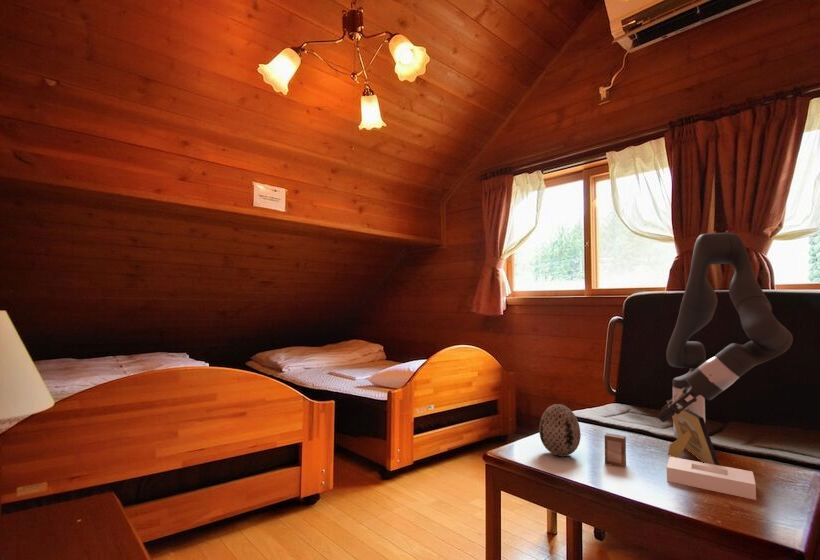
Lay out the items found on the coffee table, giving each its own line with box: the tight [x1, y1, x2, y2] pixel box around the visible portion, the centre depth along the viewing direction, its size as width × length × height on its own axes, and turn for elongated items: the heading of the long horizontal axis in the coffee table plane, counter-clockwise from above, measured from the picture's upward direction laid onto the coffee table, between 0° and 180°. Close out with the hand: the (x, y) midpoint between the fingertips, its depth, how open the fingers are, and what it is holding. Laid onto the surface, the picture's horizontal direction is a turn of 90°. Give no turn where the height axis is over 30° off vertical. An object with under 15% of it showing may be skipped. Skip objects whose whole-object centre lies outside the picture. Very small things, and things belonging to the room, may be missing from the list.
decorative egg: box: [538, 403, 582, 457], centre depth 130 cm, size 12×12×15 cm
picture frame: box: [666, 399, 721, 466], centre depth 130 cm, size 23×9×15 cm, turn 168°
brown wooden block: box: [604, 432, 627, 469], centre depth 123 cm, size 3×5×8 cm, turn 55°
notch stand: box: [666, 456, 757, 501], centre depth 110 cm, size 10×18×4 cm, turn 55°
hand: (661, 416), depth 117 cm, fingers open, 8 cm apart
